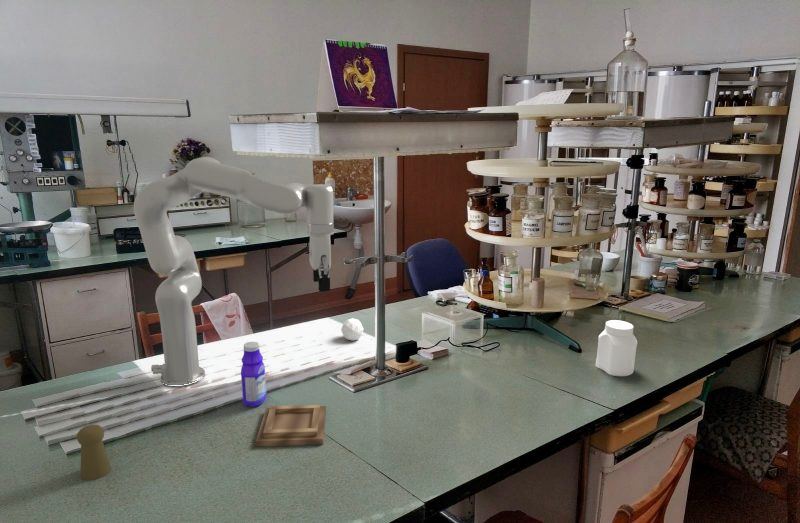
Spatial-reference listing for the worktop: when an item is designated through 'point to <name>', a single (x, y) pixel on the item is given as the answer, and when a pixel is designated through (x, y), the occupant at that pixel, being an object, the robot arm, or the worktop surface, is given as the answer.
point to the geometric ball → (352, 329)
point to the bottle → (253, 375)
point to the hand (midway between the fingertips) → (321, 285)
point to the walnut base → (292, 425)
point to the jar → (617, 348)
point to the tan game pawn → (93, 453)
